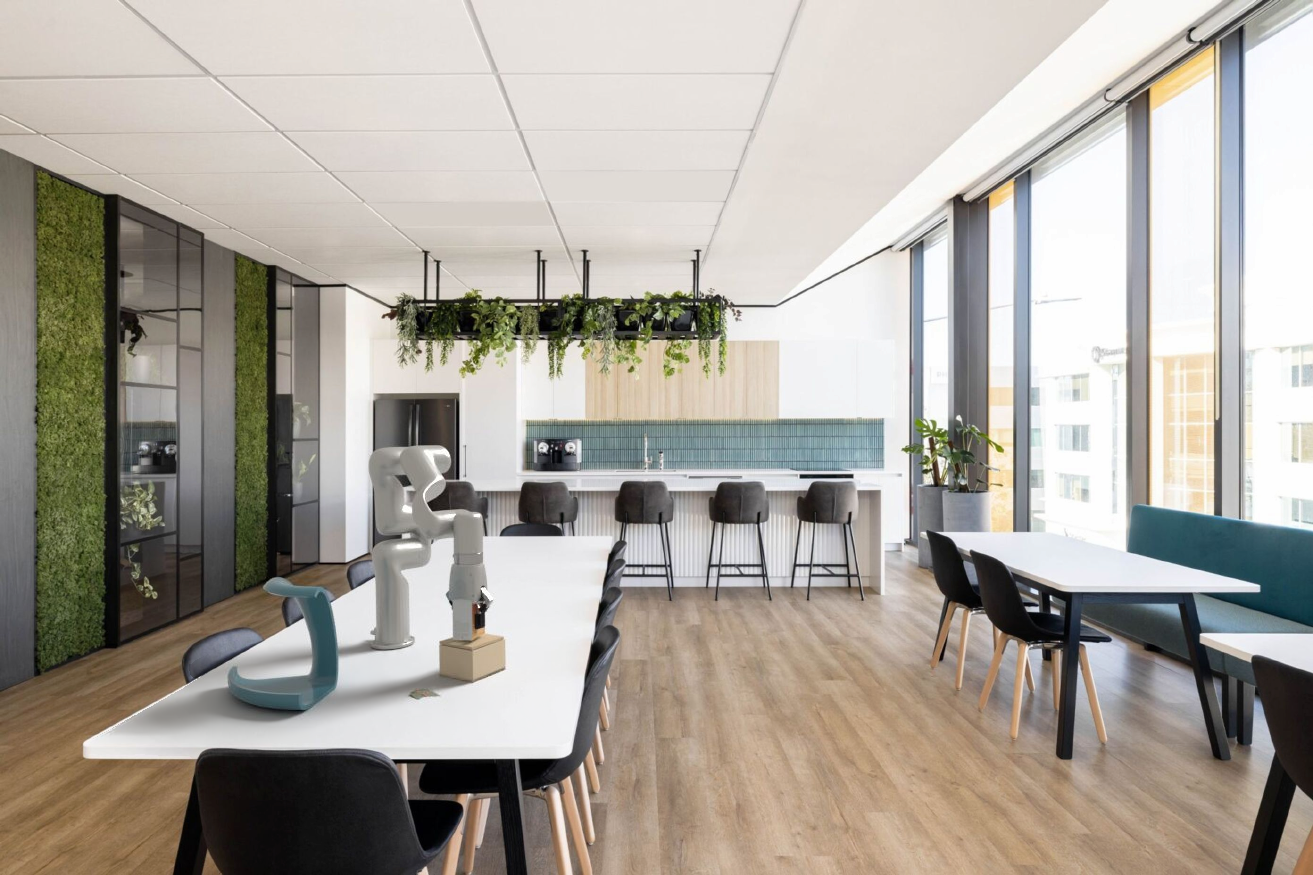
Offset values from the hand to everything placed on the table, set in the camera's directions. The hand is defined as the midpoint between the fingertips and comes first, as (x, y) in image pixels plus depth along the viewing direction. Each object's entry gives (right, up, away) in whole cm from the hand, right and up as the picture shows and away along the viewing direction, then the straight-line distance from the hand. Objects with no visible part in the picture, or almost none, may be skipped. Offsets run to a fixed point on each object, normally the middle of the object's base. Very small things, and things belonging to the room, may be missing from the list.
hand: (469, 625), depth 191 cm
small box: (0, -3, 0) cm, 3 cm away
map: (-2, -13, -20) cm, 24 cm away
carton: (+1, -13, +1) cm, 13 cm away
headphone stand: (-45, -13, -15) cm, 49 cm away
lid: (0, -4, 0) cm, 4 cm away
